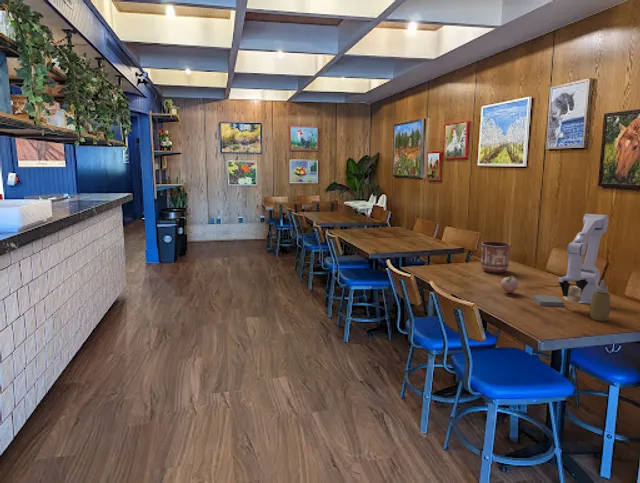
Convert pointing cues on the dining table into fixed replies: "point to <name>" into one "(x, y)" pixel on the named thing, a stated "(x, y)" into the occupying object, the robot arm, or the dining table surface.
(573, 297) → the birch cube
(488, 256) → the pottery
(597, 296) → the squeeze bottle
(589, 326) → the dining table surface
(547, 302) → the charcoal base
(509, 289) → the decorative fruit
